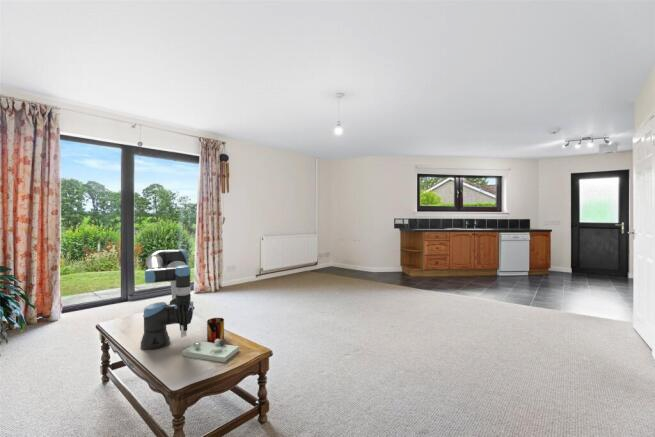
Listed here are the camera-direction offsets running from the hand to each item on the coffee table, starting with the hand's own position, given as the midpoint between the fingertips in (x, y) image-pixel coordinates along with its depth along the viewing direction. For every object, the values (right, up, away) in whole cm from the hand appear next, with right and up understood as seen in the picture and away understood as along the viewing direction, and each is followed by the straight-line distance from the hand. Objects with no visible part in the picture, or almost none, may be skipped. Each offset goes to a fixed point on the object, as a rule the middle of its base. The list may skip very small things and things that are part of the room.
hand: (183, 336), depth 180 cm
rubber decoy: (+21, -4, +2) cm, 21 cm away
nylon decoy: (+17, -4, +4) cm, 18 cm away
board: (+16, -9, -2) cm, 18 cm away
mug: (+14, -8, +15) cm, 22 cm away
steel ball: (+8, -5, -2) cm, 10 cm away
